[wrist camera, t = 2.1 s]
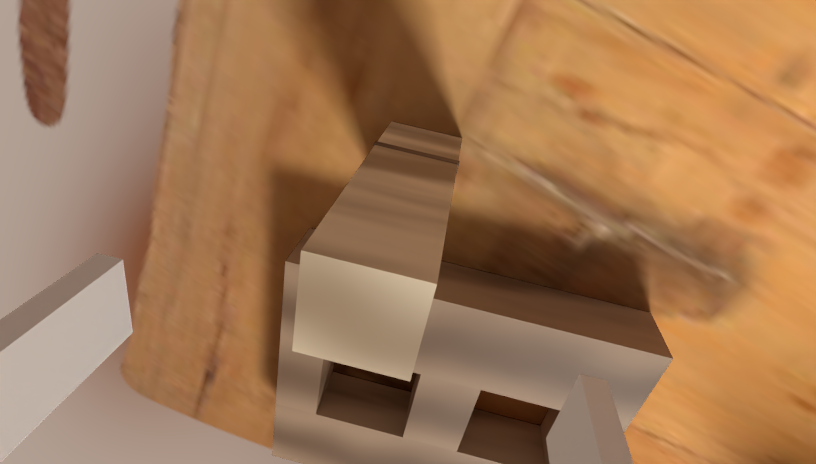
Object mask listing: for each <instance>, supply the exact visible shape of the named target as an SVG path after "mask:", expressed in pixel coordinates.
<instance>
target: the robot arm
mask: <svg viewBox="0 0 816 464" xmlns="http://www.w3.org/2000/svg"><path fill="white" fill-rule="evenodd" d="M132 333H133V330H132V323H131V316H130V308H129V301H128V294H127V287H126V279H125V272H124V264H123V259H118V258H115V257H111V256H107V255H102V254H99V253H97V254H95V255H94V256H92V257H91V258H89V259H88V260H87V261H85V262H84V263H82V264H81V265H79V266H78V267H77V268H75V269H73V270H72V271H71V272H69V273H68V274H66V275H65V276H63V277H62V278H60V279H59V280H57V281H56V282H55V283H53V284H52V285H50V286H49V287H47V288H46V289H44V290H43V291H41V292H40V293H39V294H37V295H36V296H34V297H33V298H31V299H30V300H28V301H27V302H25V303H24V304H23V305H21V306H20V307H18V308H17V309H15V310H14V311H12V312H11V313H10V314H8V315H7V316H5V317H4V318H2V319H1V320H0V462H1V461H3V459H5V457H7V456H8V455H9V453H11V452H12V451H13V450H14V449H15V448H16V447H17V446H18V445H19V443H21V442H22V441H23V440H24V439H25V438H26V437H27V436H28V435H29V434H30V433H31V432H32V431H33V430H34V429H35V428H36V427H37V426H38V425H39V424H40V423H41V422H42V421H43V420H44V419H45V418H46V417H47V416H48V415H49V414H50V413H51V412H52V411H53V410H54V409H55V408H56V407H57V406H58V405H59V404H60V403H61V402H63V400H65V399H66V397H68V396H69V395H70V394H71V393H72V392H73V391H74V390H75V389H76V388H77V387H78V386H79V385H80V384H81V383H82V382H83V381H84V380H85V379H86V378H87V377H88V376H89V375H90V374H91V373H92V372H93V371H94V370H95V369H96V368H97V367H98V366H99V365H100V364H101V363H102V362H103V361H104V360H105V359H106V358H107V357H108V356H109V355H110V354H111V353H112V352H113V351H114V350H115V349H116V348H117V347H118V346H119V345H120V344H121V343H123V341H125V340H126V339H127V338H128V337H129V336H130V335H131V334H132ZM546 442H547V450H548V457H549V464H633V460H632V457H631V454H630V451H629V448H628V445H627V441H626V438H625V435H624V432H623V429H622V425H621V422H620V419H619V416H618V413H617V409H616V406H615V403H614V400H613V397H612V394H611V390H610V387H609V384H608V381H606V380H602V379H598V378H594V377H590V376H586V375H582V374H579V376H578V378H577V380H576V382H575V384H574V386H573V388H572V390H571V391H570V393H569V395H568V397H567V399H566V401H565V403H564V405H563V407H562V409H561V410H560V412H559V414H558V416H557V418H556V420H555V422H554V424H553V426H552V428H551V429H550V431H549V433H548V435H547V437H546Z"/></svg>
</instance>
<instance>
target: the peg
mask: <svg viewBox="0 0 816 464" xmlns="http://www.w3.org/2000/svg"><path fill="white" fill-rule="evenodd" d="M461 142H462V138H460V137H455V136H451V135H447V134H443V133H438V132H434V131H430V130H426V129H422V128H417V127H413V126H409V125H405V124H400V123H396V122H392V121H391V123H390V124H389V125H388V127H387V128H386V130H385V131H384V133H383V134H382V135H381V137H380V138H379V140H378V141H376V142H375V143H374V147H373V148H372V150H371V151H370V153H369V154H368V155H367V157H366V158H365V160H364V161H363V162H362V164H361V165H360V167H359V168H358V170H357V171H356V172H355V174H354V175H353V177H352V178H351V180H350V181H349V182H348V184H347V185H346V187H345V188H344V190H343V191H342V192H341V194H340V195H339V197H338V198H337V200H336V201H335V202H334V204H333V205H332V207H331V208H330V210H329V211H328V212H327V214H326V215H325V217H324V218H323V220H322V221H321V222H320V224H319V225H318V227H317V228H316V229H315V231H314V232H313V234H312V235H311V237H310V238H309V239H308V241H307V242H306V244H305V245H304V247H303V248H302V249H301V256H300V267H299V278H298V290H297V301H296V313H295V324H294V336H293V347H292V351H294V352H298V353H302V354H306V355H309V356H313V357H317V358H321V359H325V360H329V361H332V362H336V363H340V364H344V365H348V366H352V367H356V368H359V369H363V370H367V371H371V372H375V373H379V374H383V375H386V376H390V377H394V378H398V379H402V380H406V381H409V382H410V381H411V377H412V373H413V370H414V366H415V362H416V359H417V355H418V352H419V348H420V344H421V341H422V337H423V334H424V330H425V326H426V323H427V319H428V315H429V312H430V308H431V305H432V301H433V297H434V294H435V290H436V286H437V282H438V276H439V270H440V265H441V259H442V253H443V247H444V241H445V235H446V230H447V224H448V218H449V212H450V206H451V201H452V195H453V189H454V183H455V177H456V173H457V169H458V166H459V161H458V160H459V154H460V148H461Z"/></svg>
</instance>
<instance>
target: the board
mask: <svg viewBox="0 0 816 464" xmlns="http://www.w3.org/2000/svg"><path fill="white" fill-rule="evenodd" d="M314 231H315V229H311V228H309V230H308V231H307V232H306V234H305V235H304V236H303V238H302V239H301V240H300V242H299V243H298V245H297V246H296V247H295V249H294V250H293V251H292V253H291V254H290V256H289V257H288V258H287V260H286V261H285V274H284V289H283V303H282V318H281V333H280V347H279V362H278V377H277V391H276V406H275V421H274V435H273V450H272V455H273V456H277V457H280V458H284V459H288V460H291V461H295V462H299V463H303V464H549V457H548V450H547V442H546V437H547V435H548V433H549V431H550V429H551V428H552V426H553V424H554V422H555V420H556V418H557V416H558V414H559V412H560V410H561V409H562V407H563V405H564V403H565V401H566V399H567V397H568V395H569V393H570V391H571V390H572V388H573V386H574V384H575V382H576V380H577V378H578V376H579V374H582V375H586V376H590V377H594V378H598V379H602V380H606V381H608V384H609V387H610V390H611V394H612V397H613V400H614V403H615V406H616V409H617V413H618V416H619V419H620V422H621V425H622V429H623V432H625V430H626V429H627V427H628V426H629V424H630V423H631V421H632V420H633V418H634V417H635V415H636V414H637V412H638V411H639V409H640V408H641V406H642V405H643V403H644V402H645V400H646V399H647V397H648V396H649V394H650V393H651V391H652V390H653V388H654V387H655V385H656V384H657V382H658V381H659V379H660V378H661V376H662V375H663V373H664V372H665V370H666V369H667V367H668V366H669V364H670V363H671V361H672V360H673V357H672V355H671V353H670V351H669V349H668V347H667V345H666V343H665V341H664V339H663V337H662V335H661V333H660V331H659V329H658V327H657V325H656V323H655V321H654V319H653V317H652V314H651V313H649V312H645V311H641V310H637V309H633V308H629V307H625V306H621V305H617V304H613V303H609V302H605V301H601V300H597V299H593V298H589V297H585V296H581V295H577V294H573V293H569V292H565V291H561V290H557V289H553V288H549V287H545V286H541V285H537V284H532V283H528V282H524V281H520V280H516V279H512V278H508V277H504V276H500V275H496V274H492V273H488V272H484V271H480V270H476V269H472V268H468V267H464V266H460V265H456V264H452V263H448V262H444V261H441V265H440V270H439V276H438V282H437V286H436V290H435V294H434V297H433V301H432V305H431V308H430V312H429V315H428V319H427V323H426V326H425V330H424V334H423V337H422V341H421V344H420V348H419V352H418V355H417V359H416V362H415V366H414V370H413V373H417V374H416V377H415V381H414V385H413V388H412V392H409V391H405V390H401V389H397V388H393V387H390V386H386V385H382V384H378V383H374V382H370V381H367V380H363V379H359V378H355V377H351V376H347V375H344V374H340V373H336V372H333V368H334V362H332V361H329V360H325V359H321V358H317V357H313V356H309V355H306V354H302V353H298V352H294V351H292V347H293V336H294V324H295V313H296V301H297V290H298V278H299V267H300V256H301V249H302V248H303V247H304V245H305V244H306V242H307V241H308V239H309V238H310V237H311V235H312V234H313V232H314ZM481 390H483V391H487V392H491V393H494V394H498V395H502V396H506V397H510V398H514V399H518V400H521V401H525V402H529V403H533V404H537V405H541V406H545V407H549V410H548V412H547V414H546V416H545V418H544V420H543V421H542V423H541V425H540V426H539V425H535V424H531V423H528V422H524V421H520V420H516V419H512V418H508V417H505V416H501V415H497V414H493V413H489V412H485V411H482V410H478V409H474V406H475V404H476V401H477V399H478V396H479V394H480V391H481Z"/></svg>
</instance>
